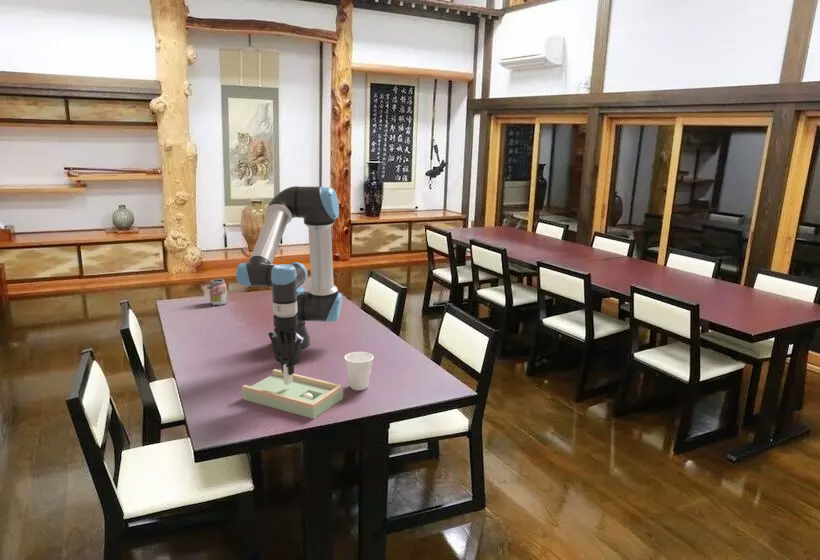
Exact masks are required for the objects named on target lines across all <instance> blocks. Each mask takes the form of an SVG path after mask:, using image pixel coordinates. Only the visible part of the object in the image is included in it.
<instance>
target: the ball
mask: <svg viewBox="0 0 820 560" xmlns="http://www.w3.org/2000/svg"><path fill="white" fill-rule="evenodd" d="M302 397H303V398H306V399H310V400H313V395H312V394H311V393H305V394H304V395H303V396H302Z"/></svg>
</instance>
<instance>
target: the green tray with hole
mask: <svg viewBox="0 0 820 560" xmlns="http://www.w3.org/2000/svg"><path fill="white" fill-rule="evenodd" d="M305 393H311V394H312V395H313V400H310V399H306V398H303V397H302V396H303V395H304V394H305ZM242 399H243V400H244V401H248V402H250V403H255V404H258V405H262V406H265V407H269V408H273V409H277V410H280V411H284V412H287V413H291V414H295V415H299V416H301V417H306V418H309V419H316V418H318V417H319V416H320V415H322V414H323V413H324V412H326V411H327V410H329V409H330V408H332V407H333V406H335V405H336V404H337V403H339V402H341V401H342V400H343V399H344V385H343V384H338V383H334V382H330V381H327V380H322V379H318V378H314V377H310V376H306V375H301V374H297V373H294V374H293V382H292V383H290V384H289V385H285V384H284V373H282V369H281V370H280V369H276V368H274V369H272V374H271V375H269V376H267V377H265V378H264V379H261V380H260V381H258V382H256V383H254V384H252V385H247V384H244V385H242Z"/></svg>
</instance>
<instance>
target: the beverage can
mask: <svg viewBox="0 0 820 560" xmlns="http://www.w3.org/2000/svg"><path fill="white" fill-rule="evenodd" d="M206 290H208V291H209V301H210V304H211V305H212V304H214V305H221V306H224V305H223V304H225V305H226V304H228V291H227V284H226V282H225V280H224V279H223V278H217V279H212V280H210V284H209V285H208V286H207V287H206ZM214 305H213V306H214Z"/></svg>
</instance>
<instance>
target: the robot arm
mask: <svg viewBox="0 0 820 560" xmlns="http://www.w3.org/2000/svg"><path fill="white" fill-rule="evenodd" d="M265 214H266V218H265V221H264V222H263V226H262V228H261V230H260V233H259V235H258V238H257V240H256V243H255V244H254V248H253V249H252V252H251V255H250V258H249V260H248V262H243V263H242V262H241V263H239V264H238V265H237V268H236V274H235V276H236V280H237V281H236V282H237V283H238V285H240V286H243V287H265V288H271V293H272V294H271V295H272V296H271V297H272V310H273V311H272V314H273V316H272V317H273V319H272V320H273V327H274V329H273V330H272V331H270V332H269V333H268V337H269V338H270V341H271V344H272V345H271V346H272V350H273V353H274V359H275V361H276V362H277V363H280V365H281V371H282V373H284V384H285V385H289V384H290V383H292V382H293V374H295V365H297V364H299V363H300V359H301V355H302V354H301V353H302V349H305V348H307V347H309V346H310V345H311V336H310V335H309V332H308V331H309V330H308V329H307V326H306V322H320V323H321V322H323V323H328V322H329V323H330V322H331V323H335V322H337V321H338V320H339V319H340V315H341V312H342V307H343V299H344V298H343V293H341V292H338V291H339V290H338V287H337V286H336V285H335V284H334V266H333V264H334V263H333V261H334V260H333V242H332V226H333V225H334V224H335V222H336V219H338V218H339V217H340V204H339V198H338V195H337V193H336V190H335V189H334V188H332V187H325V186H299V185H298V186H297V185H296V186H294V185H293V186H289V187H287V188H285V189H282V190H281V191H279V192H278V193H277V194H276V195H275V196H274V197H273V198H272V199H271V201H270V202H269V203H268V206H267V208H266V211H265ZM294 218H298V219H299V218H300V219H301V218H302V219H303V224H304V225H305V226H306V227H307V228H308V244H309V257H310V258H309V261H310V262H309V265H310V279H311V285H310V287H309V288H308V289H307V291H306V290H305V287H301V286H302V285H303V284H304V283H305V281H306V280H307V278H308V269H307V267H306V266H305V265H304V264H303V263H301V262H298V261H296V262H292V263H289V264H285V263H283V264H279V263H278V264H276V263H274V259H275V256H276V254H277V252H278V248H279V246H280V243H281V241H282V237H283V235H284V232H285V230H286V228H287V225H288V224H290V222H291V221H292V219H294Z"/></svg>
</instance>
